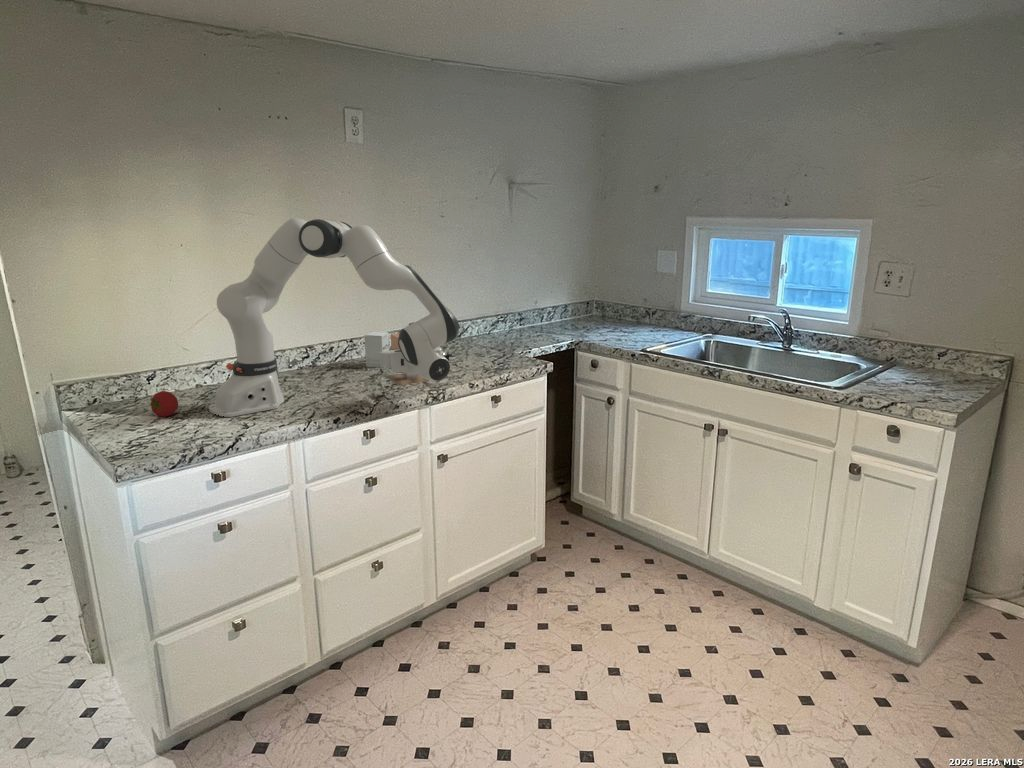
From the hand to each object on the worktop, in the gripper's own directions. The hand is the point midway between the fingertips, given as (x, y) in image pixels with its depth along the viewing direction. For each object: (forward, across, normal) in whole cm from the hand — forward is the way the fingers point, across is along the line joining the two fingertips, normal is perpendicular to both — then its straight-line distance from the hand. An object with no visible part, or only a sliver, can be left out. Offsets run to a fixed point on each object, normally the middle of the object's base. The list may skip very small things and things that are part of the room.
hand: (402, 350), depth 214 cm
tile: (+15, -8, +15) cm, 23 cm away
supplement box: (+43, -6, +15) cm, 46 cm away
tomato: (+16, +70, +15) cm, 74 cm away
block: (+15, -8, +14) cm, 23 cm away
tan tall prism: (-1, 0, +6) cm, 6 cm away
